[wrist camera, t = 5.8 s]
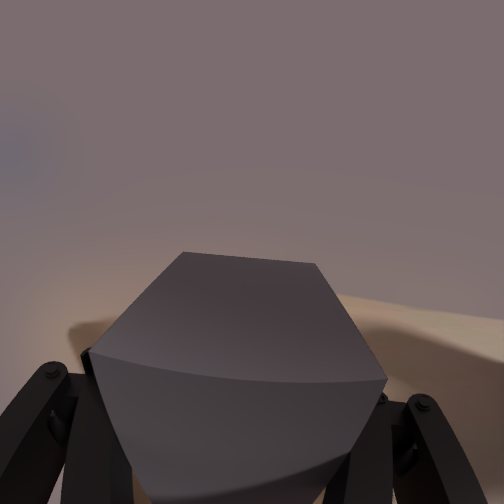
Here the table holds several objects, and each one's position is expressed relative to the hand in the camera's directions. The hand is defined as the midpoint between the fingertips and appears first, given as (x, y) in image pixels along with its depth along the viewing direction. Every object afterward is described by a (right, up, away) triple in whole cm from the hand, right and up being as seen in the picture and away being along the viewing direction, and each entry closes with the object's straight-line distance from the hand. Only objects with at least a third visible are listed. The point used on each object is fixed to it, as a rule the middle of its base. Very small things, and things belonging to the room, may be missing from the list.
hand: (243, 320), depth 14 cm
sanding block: (-1, -7, -3) cm, 8 cm away
